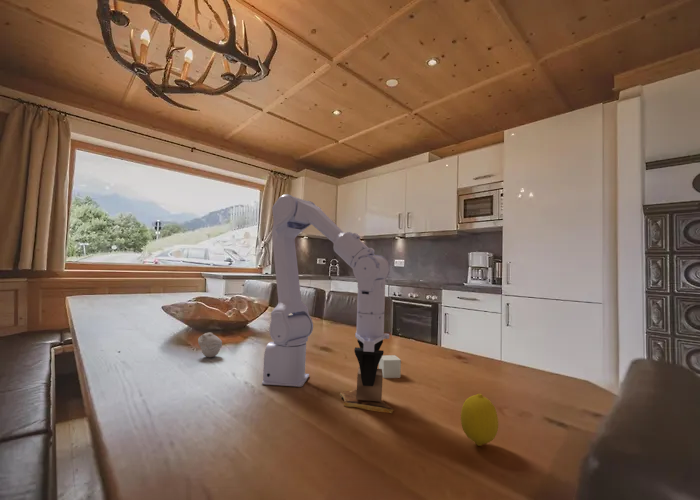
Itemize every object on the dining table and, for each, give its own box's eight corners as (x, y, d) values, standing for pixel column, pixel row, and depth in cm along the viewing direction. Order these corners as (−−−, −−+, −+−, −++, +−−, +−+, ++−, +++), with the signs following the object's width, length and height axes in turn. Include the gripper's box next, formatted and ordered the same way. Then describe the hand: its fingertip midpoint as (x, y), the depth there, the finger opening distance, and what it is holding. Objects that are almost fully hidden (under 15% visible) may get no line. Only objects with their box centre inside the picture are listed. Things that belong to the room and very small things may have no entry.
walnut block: (356, 399, 64) (357, 373, 65) (357, 391, 69) (358, 367, 70) (381, 401, 64) (382, 375, 64) (380, 393, 69) (381, 368, 69)
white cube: (383, 378, 82) (383, 360, 82) (378, 372, 86) (379, 355, 86) (400, 378, 83) (400, 360, 83) (394, 372, 87) (395, 355, 87)
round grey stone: (204, 353, 98) (205, 330, 99) (226, 355, 97) (227, 331, 98) (192, 358, 92) (193, 334, 93) (215, 360, 91) (216, 335, 92)
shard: (394, 417, 62) (394, 407, 62) (358, 424, 58) (359, 414, 58) (367, 396, 71) (367, 387, 72) (335, 401, 68) (335, 392, 68)
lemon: (454, 436, 54) (455, 387, 54) (486, 436, 54) (487, 387, 55) (469, 455, 48) (470, 401, 49) (505, 455, 49) (505, 401, 49)
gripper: (391, 318, 60) (389, 393, 60) (388, 309, 75) (387, 369, 74) (353, 316, 61) (351, 390, 60) (358, 307, 75) (356, 367, 75)
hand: (368, 378), depth 67 cm, fingers open, 7 cm apart
